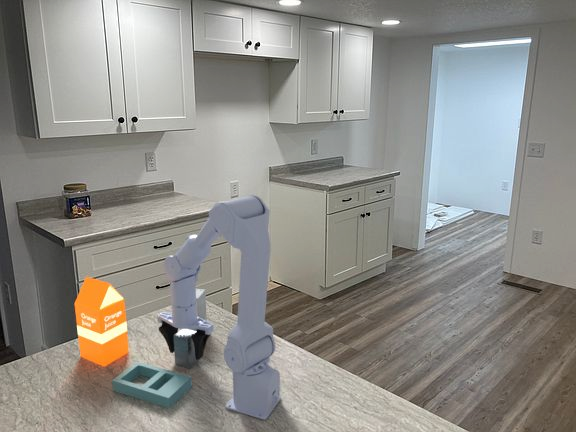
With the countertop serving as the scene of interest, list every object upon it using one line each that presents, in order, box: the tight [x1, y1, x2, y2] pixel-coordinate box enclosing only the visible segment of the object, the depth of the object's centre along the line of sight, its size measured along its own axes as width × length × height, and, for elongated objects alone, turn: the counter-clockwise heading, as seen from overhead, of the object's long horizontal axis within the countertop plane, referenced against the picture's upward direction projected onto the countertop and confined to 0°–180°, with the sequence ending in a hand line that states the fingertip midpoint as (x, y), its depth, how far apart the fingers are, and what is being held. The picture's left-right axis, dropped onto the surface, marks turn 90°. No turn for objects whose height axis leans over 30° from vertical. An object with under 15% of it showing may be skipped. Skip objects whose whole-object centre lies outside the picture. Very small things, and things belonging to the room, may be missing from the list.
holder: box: [111, 361, 193, 409], centre depth 104 cm, size 15×8×2 cm, turn 67°
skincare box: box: [189, 288, 208, 331], centre depth 126 cm, size 6×4×12 cm
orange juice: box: [74, 276, 130, 367], centre depth 115 cm, size 8×9×20 cm
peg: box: [173, 329, 200, 370], centre depth 113 cm, size 4×4×8 cm
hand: (186, 354), depth 113 cm, fingers open, 7 cm apart
